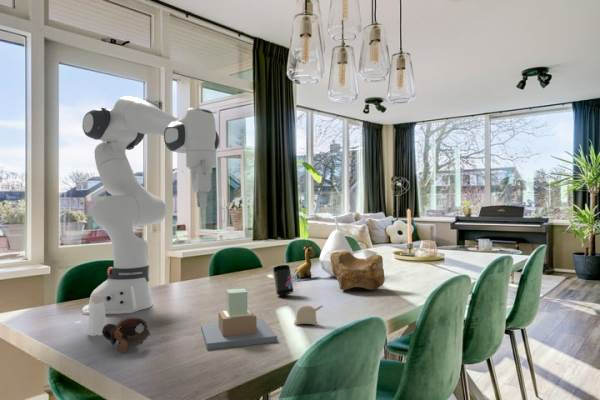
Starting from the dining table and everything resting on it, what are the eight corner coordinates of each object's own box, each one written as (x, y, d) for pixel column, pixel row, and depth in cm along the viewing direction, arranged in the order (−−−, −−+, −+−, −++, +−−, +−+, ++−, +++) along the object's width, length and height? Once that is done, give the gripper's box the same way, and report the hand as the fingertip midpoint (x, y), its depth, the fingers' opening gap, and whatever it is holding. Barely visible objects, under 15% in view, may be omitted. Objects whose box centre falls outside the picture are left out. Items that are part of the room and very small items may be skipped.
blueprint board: (207, 349, 107) (206, 324, 107) (201, 329, 125) (200, 307, 125) (277, 341, 113) (276, 318, 113) (262, 323, 130) (261, 302, 130)
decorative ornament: (294, 320, 131) (295, 303, 131) (322, 321, 131) (322, 304, 131) (293, 324, 127) (294, 306, 127) (322, 325, 127) (322, 307, 127)
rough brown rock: (319, 291, 175) (318, 254, 175) (334, 284, 190) (333, 250, 190) (375, 296, 165) (374, 257, 165) (386, 288, 180) (386, 252, 180)
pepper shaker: (83, 334, 121) (83, 294, 121) (103, 330, 125) (103, 291, 125) (90, 338, 117) (90, 297, 117) (111, 334, 121) (110, 294, 121)
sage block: (229, 315, 116) (228, 293, 116) (226, 311, 120) (226, 289, 120) (247, 314, 117) (247, 291, 117) (244, 309, 122) (244, 288, 122)
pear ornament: (314, 278, 202) (313, 219, 203) (332, 271, 222) (332, 217, 223) (347, 281, 195) (346, 219, 195) (363, 273, 215) (362, 217, 215)
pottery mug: (153, 340, 115) (155, 317, 112) (141, 368, 107) (143, 344, 103) (107, 332, 114) (108, 308, 111) (91, 359, 106) (92, 335, 102)
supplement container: (284, 291, 161) (280, 264, 165) (272, 295, 165) (269, 269, 169) (297, 291, 166) (293, 265, 170) (285, 296, 170) (281, 270, 174)
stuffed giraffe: (326, 279, 203) (326, 245, 203) (293, 283, 194) (292, 248, 194) (309, 274, 217) (309, 242, 217) (277, 278, 208) (277, 245, 208)
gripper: (215, 158, 122) (216, 207, 122) (208, 164, 141) (208, 206, 141) (192, 158, 120) (193, 207, 120) (188, 164, 139) (189, 207, 139)
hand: (201, 207), depth 131 cm, fingers open, 8 cm apart
